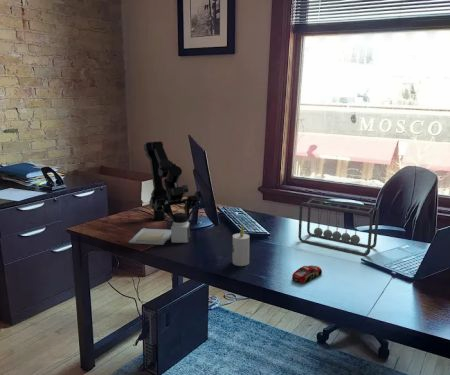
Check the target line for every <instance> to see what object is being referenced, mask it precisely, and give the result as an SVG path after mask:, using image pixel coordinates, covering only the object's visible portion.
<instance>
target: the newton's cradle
mask: <svg viewBox="0 0 450 375" xmlns="http://www.w3.org/2000/svg"><path fill="white" fill-rule="evenodd" d="M312 201H315V202H319V203H315V202H312ZM324 203H329V204H328V205H325V204H324ZM333 204H334V205H338V206H333ZM304 206H307V221H306V222H307V224H306V228H307V229H306V232H307V234H308V237H306V238H305V239H303V238H302V227H303V226H302V225H303V224H302V223H303V207H304ZM339 206H340V207H339ZM341 206H345V207H341ZM346 206H347V207H346ZM312 207H315V208H317V209H318V212H317V213H318V214H317V215H318V217H317V218H318V220H317V222H318V223H317V227H316V228H315V229H313V233H312V232H311V231H310V230H311V228H310V227H311V213H312V212H311V210H312V209H311V208H312ZM351 207H353V208H358V209H351ZM320 208H321V211H320ZM323 209H326V211H327V212H326V214H327V215H326V216H327V222H328V223H330V222H331V218H329V215H331V212H332V210H334V211H336V213H335V214H336V216H335V218H336V231H333V232H332V231H331V230H330V226H327V229H325V230H323V229H322V228H321V227H320V224H321V222H320V220H321V217H322V215H320V213H322V212H323ZM360 209H364V210H360ZM365 209H367V210H369V211H365ZM373 210H374V211H375V224H374V217H373V215H372V213H371V212H372V211H373ZM328 211H330V212H328ZM338 211H339V212H338ZM319 212H320V213H319ZM341 212H345V213H349V214H348V217H347V219H350V218H349V217H350V214H351V213H352V214H355V218H354V220H355V221H354V226H355V227H354V231H357V229H358V226H357V224H358V223H359V221H358V220H359V219H357V220H356V218H357V217H356V216H359V215H364V216H368V217H369V225H368V235H367V236H368V238H367V244H365V243H360V241H361V238H360V236H359V235H357V233H354V234H353V235H351V234H349V233H347V232H348V229H345V233H342V234H341V232H340V231H338V229H339V227H338V224H339V222H340V219H338V216H340V214H341ZM379 217H380V210H379V209H378V207H376V206H372V205H365V204H359V203H352V202H347V201H346V202H345V201H339V200H333V199H332V200H331V199H327V198H326V199H325V198H321V197H320V198H318V197H310V198H309V199H308V201H307V202H304V201H303V202H301V203H300V205H299V215H298V240H299V241H300V242H301V243H305V244H309V245H313V246H317V247H322V248H326V249H331V250H335V251H341V252H345V253H350V254H355V255H360V256H363V257H366V256H368V255H369V254H370V253H371V249H374V248H375V247H376V246H377V240H378V228H379V219H380V218H379ZM348 225H349V222H346V227H348ZM373 225H374V231H373ZM372 232H374V234H372ZM372 235H373V242H372ZM310 237H315V238H319V239H324V240H329V241H333V242H339V243H344V244H348V245H353V246H358V247H361V248H362V247H363V248H366V250H365V251H364V252H361V251H357V250H351V249H349V248H344V247H338V246H335V245H334V246H333V245H329V244H324V243H320V242H316V241H310V240H308V239H309V238H310ZM372 243H373V244H372Z"/></svg>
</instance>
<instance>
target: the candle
mask: <svg viewBox="0 0 450 375" xmlns="http://www.w3.org/2000/svg"><path fill="white" fill-rule="evenodd" d="M250 238H251V237H250V234H248V233H245V225H244V224H242V226H241V229H240V232H239V233H238V232H237V233H234V234H232V244H231V252H232V264H233V265H235V266H237V267H238V266H239V267H243V266H244V267H245V266H248V265H249V264H250V240H251V239H250Z"/></svg>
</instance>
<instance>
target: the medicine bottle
mask: <svg viewBox="0 0 450 375" xmlns="http://www.w3.org/2000/svg"><path fill="white" fill-rule="evenodd" d="M173 215H174V219H175V221H173V220H172V221H173V222H172V223H171V224H172V225H171V226H170V230H171V235H170V237H171V238H170V239H171V243H172V244H173V243H178V244H181V243H183V244H186V243H189V240H190V237H191V234H190V233H191V232H190V229H191V228H190V226H191V225H190V221H188V219H187V214H186V213H185V212H181V211H180V212H175V213H173Z"/></svg>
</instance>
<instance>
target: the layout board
mask: <svg viewBox="0 0 450 375" xmlns="http://www.w3.org/2000/svg"><path fill="white" fill-rule="evenodd" d="M170 237H171V229H162V228H161V229H159V228H145V227H143V228H141V229H140V230H139V231H138V232H137V233H136V234H135V235H134V236H133V237H132V238H131V239H130V240H129V241H128V243H129V244H142V245H143V244H144V245H157V246H159V245H161V246H162V245H165V243H166V242H167V240H168V239H169V238H170Z"/></svg>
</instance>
